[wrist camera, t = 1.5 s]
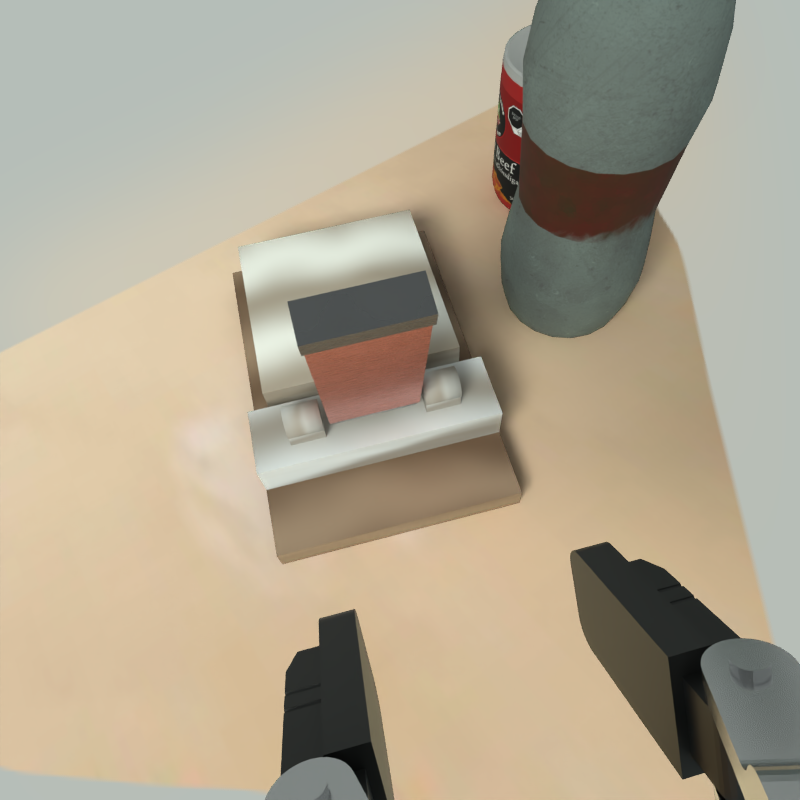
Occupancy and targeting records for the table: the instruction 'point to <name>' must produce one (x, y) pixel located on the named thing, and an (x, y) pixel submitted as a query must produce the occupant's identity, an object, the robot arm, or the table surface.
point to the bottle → (602, 148)
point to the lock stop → (367, 344)
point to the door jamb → (372, 435)
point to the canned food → (510, 119)
